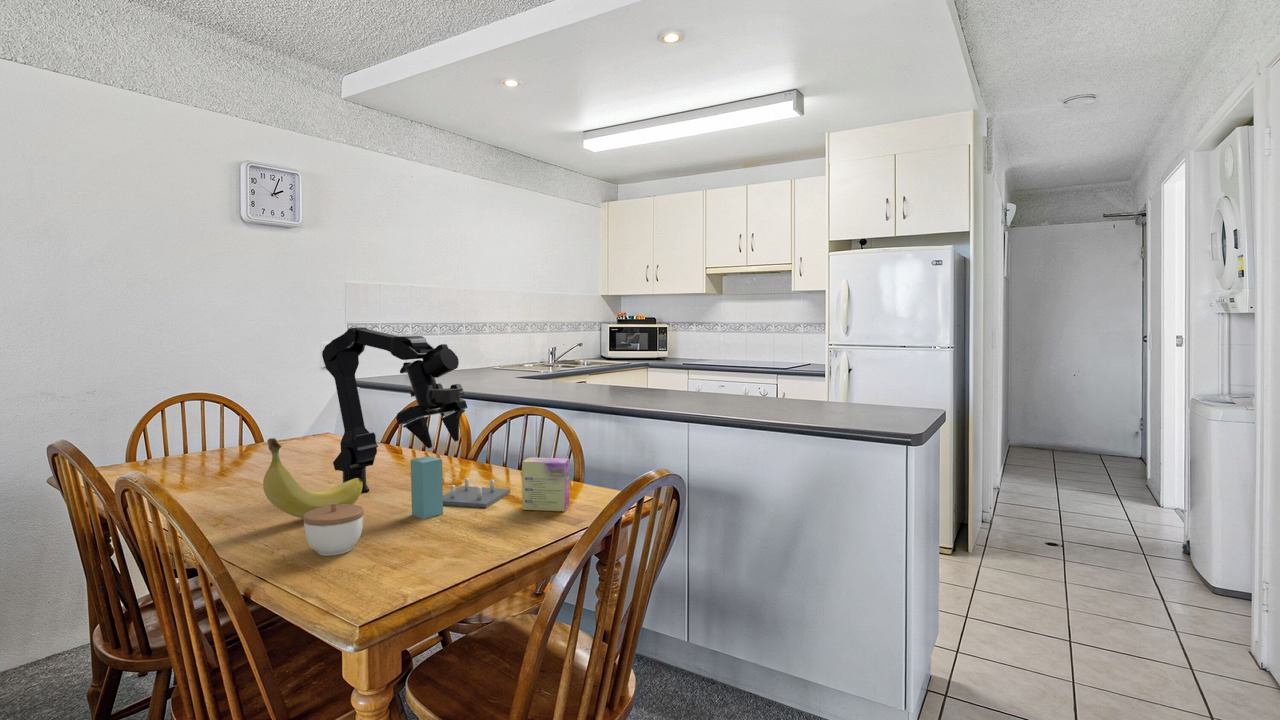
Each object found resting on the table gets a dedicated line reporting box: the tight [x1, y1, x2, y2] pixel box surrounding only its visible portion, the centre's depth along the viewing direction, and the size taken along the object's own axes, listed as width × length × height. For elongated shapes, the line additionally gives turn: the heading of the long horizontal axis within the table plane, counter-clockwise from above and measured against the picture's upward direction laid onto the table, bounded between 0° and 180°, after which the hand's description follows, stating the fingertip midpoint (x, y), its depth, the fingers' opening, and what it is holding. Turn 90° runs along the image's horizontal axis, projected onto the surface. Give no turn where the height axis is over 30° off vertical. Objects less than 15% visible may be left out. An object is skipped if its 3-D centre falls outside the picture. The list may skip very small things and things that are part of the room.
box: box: [521, 456, 571, 513], centre depth 157 cm, size 10×6×12 cm, turn 84°
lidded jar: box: [302, 503, 365, 557], centre depth 128 cm, size 11×11×9 cm
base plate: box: [443, 477, 511, 508], centre depth 165 cm, size 14×14×4 cm
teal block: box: [410, 455, 444, 520], centre depth 152 cm, size 5×5×13 cm
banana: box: [262, 437, 363, 519], centre depth 148 cm, size 23×6×20 cm, turn 146°
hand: (443, 444), depth 158 cm, fingers open, 9 cm apart
